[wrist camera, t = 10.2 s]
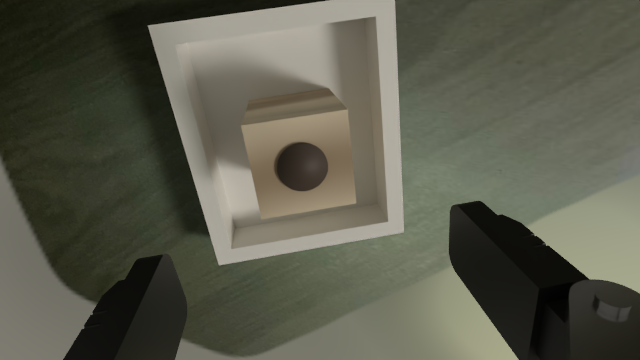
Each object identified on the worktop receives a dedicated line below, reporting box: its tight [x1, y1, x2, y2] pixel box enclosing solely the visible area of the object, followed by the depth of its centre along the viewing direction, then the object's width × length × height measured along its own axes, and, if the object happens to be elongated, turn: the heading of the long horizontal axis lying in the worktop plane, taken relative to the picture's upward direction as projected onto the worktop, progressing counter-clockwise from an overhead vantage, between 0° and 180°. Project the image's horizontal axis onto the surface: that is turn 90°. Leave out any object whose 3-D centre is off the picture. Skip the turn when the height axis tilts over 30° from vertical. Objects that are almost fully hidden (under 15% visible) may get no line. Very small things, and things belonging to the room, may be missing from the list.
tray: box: [148, 0, 404, 265], centre depth 22 cm, size 14×12×3 cm
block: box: [241, 88, 356, 219], centre depth 20 cm, size 5×5×6 cm
